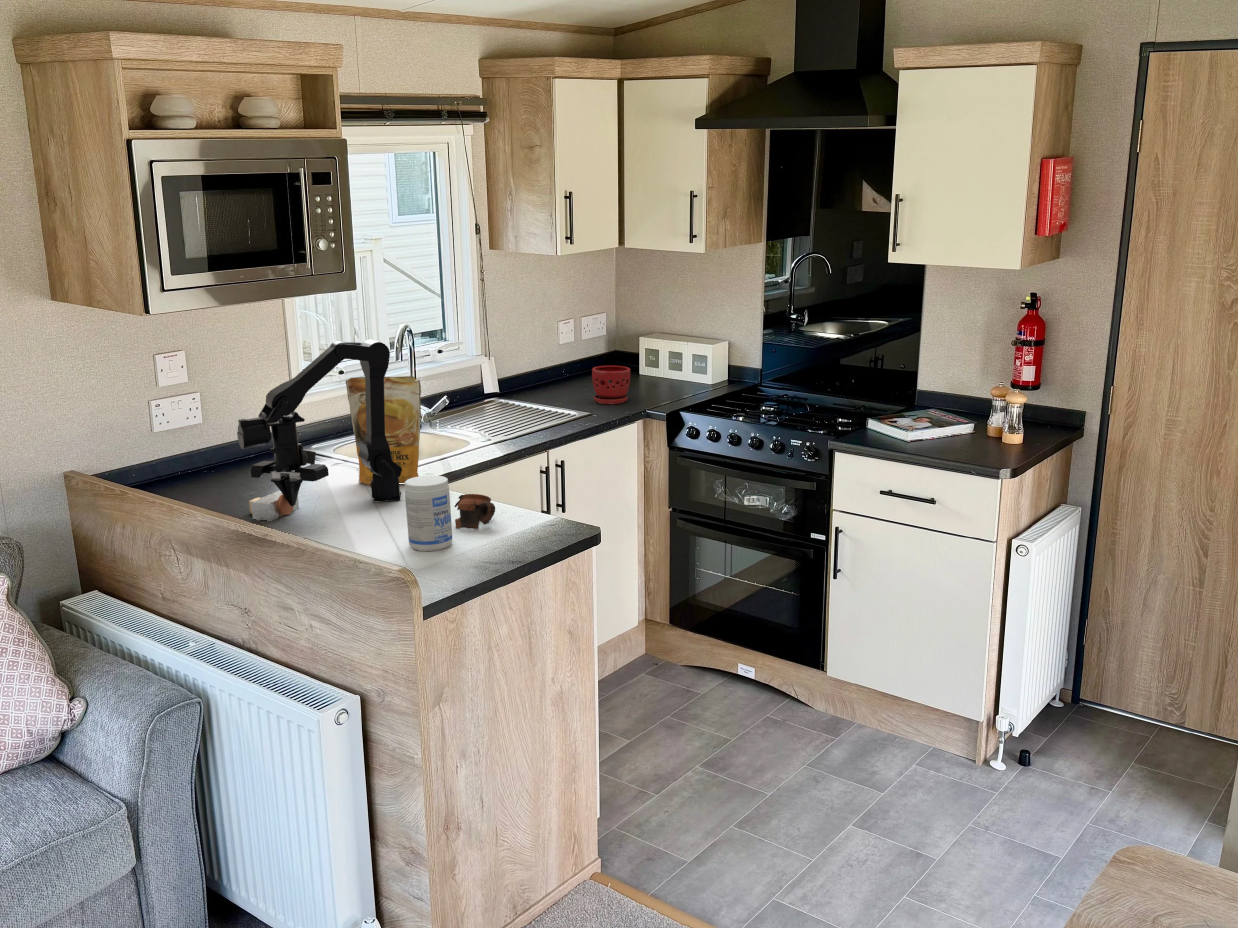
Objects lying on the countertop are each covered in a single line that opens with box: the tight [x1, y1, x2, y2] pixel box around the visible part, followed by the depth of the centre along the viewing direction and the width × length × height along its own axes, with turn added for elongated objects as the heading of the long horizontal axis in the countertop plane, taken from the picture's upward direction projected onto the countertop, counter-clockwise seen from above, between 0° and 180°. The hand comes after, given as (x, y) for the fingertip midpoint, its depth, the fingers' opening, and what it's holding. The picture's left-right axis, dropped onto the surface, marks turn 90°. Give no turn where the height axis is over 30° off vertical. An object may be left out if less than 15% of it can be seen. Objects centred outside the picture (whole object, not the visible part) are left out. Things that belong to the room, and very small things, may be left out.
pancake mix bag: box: [344, 375, 422, 486], centre depth 298 cm, size 7×19×28 cm, turn 86°
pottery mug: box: [453, 493, 496, 530], centre depth 263 cm, size 12×10×8 cm
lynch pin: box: [248, 494, 294, 517], centre depth 276 cm, size 10×5×5 cm, turn 69°
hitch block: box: [251, 489, 300, 522], centre depth 275 cm, size 5×11×4 cm, turn 159°
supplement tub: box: [404, 474, 453, 552], centre depth 247 cm, size 10×10×15 cm
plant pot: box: [591, 365, 631, 405], centre depth 392 cm, size 13×13×12 cm
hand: (292, 505), depth 273 cm, fingers closed
